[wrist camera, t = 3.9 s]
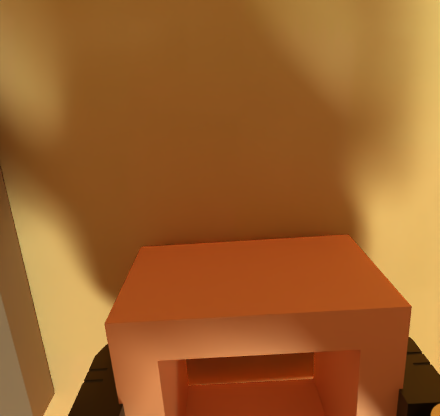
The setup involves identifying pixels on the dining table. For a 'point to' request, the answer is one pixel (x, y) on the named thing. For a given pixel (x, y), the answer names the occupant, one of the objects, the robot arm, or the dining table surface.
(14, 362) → the post plate
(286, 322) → the collar
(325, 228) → the dining table surface
